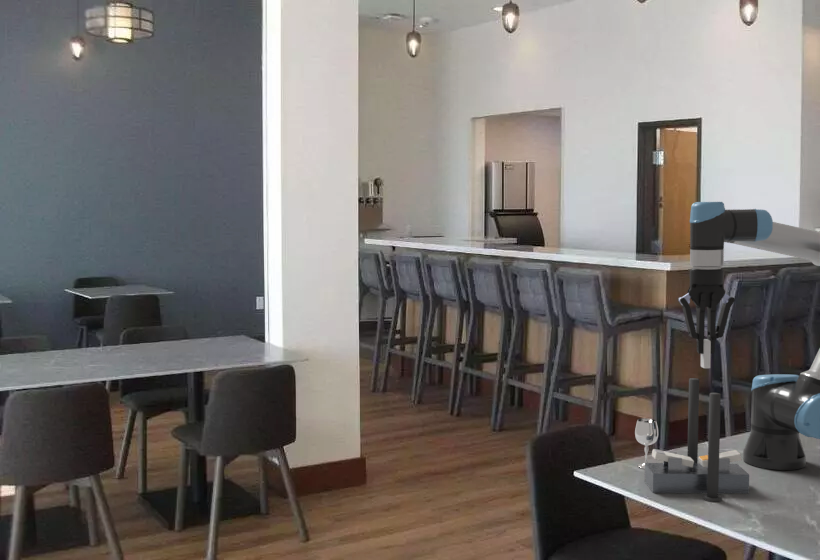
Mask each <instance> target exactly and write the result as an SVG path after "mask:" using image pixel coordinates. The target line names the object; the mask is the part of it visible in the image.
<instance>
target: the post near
mask: <svg viewBox="0 0 820 560" xmlns="http://www.w3.org/2000/svg"><path fill="white" fill-rule="evenodd" d="M721 395H722V394H721V393H718V392H710V393H709V398H708V399H709V402H708V405H709V406H708V440H707V441H708V442H707V455H708V479H707V493H704V494H703V496H702V498H703V501H707V502H711V503H719V502H722V500H723V497H722V496H721V494H719V493H718V486H719V452H720V444H721V443H720V435H721V404H722V403H721V399H722V398H721Z"/></svg>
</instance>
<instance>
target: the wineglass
mask: <svg viewBox="0 0 820 560" xmlns="http://www.w3.org/2000/svg"><path fill="white" fill-rule="evenodd" d="M634 435H635V439H636V441H637V442H638V443H639V444H641V445H643V446H644V450H643V451H644V453H645V456H644V459H645V460H644V462H643V463H639V464H637V465H638V467H637V468H639V467H640V469H643V470H645V463H649V462H648V452H649V446H650V445H651V446H652V445H654V444H655V443H656V442H658V438H659V427H658V423H657V420H656V419H653V418H638V419H637V421H636V425H635V430H634Z"/></svg>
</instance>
